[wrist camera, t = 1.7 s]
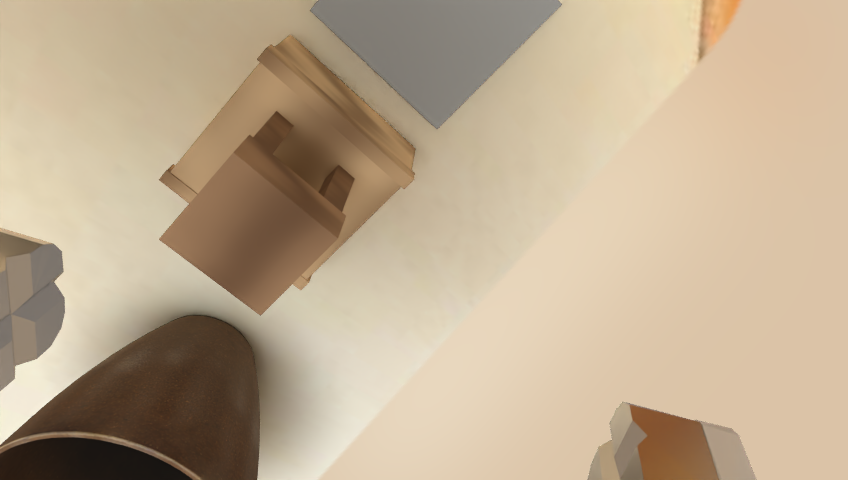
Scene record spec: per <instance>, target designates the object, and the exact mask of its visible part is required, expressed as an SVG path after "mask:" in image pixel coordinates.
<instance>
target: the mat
mask: <svg viewBox="0 0 848 480" xmlns="http://www.w3.org/2000/svg"><path fill="white" fill-rule="evenodd" d="M561 5H562V4H561V3H560V2H559V0H318V1H317V2H316V3H315V5H314V6H313V7H312V8H311V10H310V11H311V12H312V13H313V14H314V15H315V16H316V17H318V18H319V19H320V20H321V21H322V22H323V23H324V24H325V25H326V26H327V27H328V28H329V29H330V30H331V31H333V32H334V33H335V34H336V35H337V36H338V37H339V38H340V39H341V40H342V41H343V42H344V43H345V44H346V45H347V46H349V47H350V48H351V49H352V50H353V51H354V52H355V53H356V54H357V55H358V56H359V57H360V58H361V59H362V60H363V61H365V62H366V63H367V64H368V65H369V66H370V67H371V68H372V69H373V70H374V71H375V72H376V73H377V74H378V75H380V76H381V77H382V78H383V79H384V80H385V81H386V82H387V83H388V84H389V85H390V86H391V87H392V88H393V89H394V90H396V91H397V92H398V93H399V94H400V95H401V96H402V97H403V98H404V99H405V100H406V101H407V102H408V103H409V104H411V105H412V106H413V107H414V108H415V109H416V110H417V111H418V112H419V113H420V114H421V115H422V116H423V117H424V118H425V119H427V120H428V121H429V122H430V123H431V124H432V125H433V126H434V127H435V128H436V129H438V128H439V127H440V126H441V125H442V124H443V123H444V122H445V121H446V120H447V119H448V118H449V117H450V116H451V115H452V114H453V113H454V112H455V111H456V110H457V109H458V108H459V107H460V106H461V105H462V104H463V103H464V102H465V101H466V100H467V99H468V98H469V97H470V96H471V95H472V94H473V93H474V92H475V91H476V90H477V89H478V88H479V87H480V86H481V85H482V84H483V83H484V82H485V81H486V80H487V79H488V78H489V77H490V76H491V75H492V74H493V73H494V72H495V71H496V70H497V69H498V68H499V67H500V66H501V65H502V64H503V63H504V62H505V61H506V60H507V59H508V58H509V57H510V56H511V55H512V54H513V53H514V52H515V51H516V50H517V49H518V48H519V47H520V46H521V45H522V44H523V43H524V42H525V41H526V40H527V39H528V38H529V37H530V36H531V35H532V34H533V33H534V32H535V31H536V30H537V29H538V28H539V27H540V26H541V25H542V24H543V23H544V22H545V21H546V20H547V19H548V18H549V17H550V16H551V15H552V14H553V13H554V12H555V11H556V10H557V9H558V8H559V7H560V6H561Z"/></svg>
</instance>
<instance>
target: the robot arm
mask: <svg viewBox="0 0 848 480" xmlns="http://www.w3.org/2000/svg"><path fill="white" fill-rule="evenodd" d="M62 273H63V261H62V251H61V250H60V249H59V248H58V247H57V246H55V245H54V244H53V243H49V242H46V241H43V240H39V239H36V238H33V237H29V236H26V235H23V234H19V233H16V232H13V231H9V230H6V229H3V228H0V391H1V390H2V389H3V388H4V387H6V386H7V385H8V384H9V383H10V382H11V381H12V380H14V379H15V366H16V365H19V364H22V363H25V362H28V361H32V360H35V359H37V358H38V357H39V356H41V355H42V354H43V353H44V352H45V351H46V350H47V349H48V348H49V347H50V346H51V345H52V343H53V341H54V340H55V338H56V336H57V334H58V333H59V331H60V329H61V327H62V322H63V318H64V313H65V300H64V296H63V295H62V293H61V292H60V290H59V289H58V287H57V286H56V284H55V283H54V281H55V280H56V279H57V278H58V277H59V276H60V275H61V274H62ZM610 430H611V438H612V440H610V441H608V442H607V443H605V444H603V445H601V446H599V447H598V449H597V452H596V454H595V456H594V459H593V461H592V464H591V467H590V471H589V476H588V480H756V478H755V475H754V472H753V470H752V467H751V465H750V462H749V460H748V457H747V455H746V452H745V450H744V447H743V445H742V442H741V440H740V437H739V435H738V434H737V433H736V432H735V431H734V430H733V429H731V428H727V427H723V426H719V425H714V424H711V423H706V422H702V421H698V420H690V419H686V418H682V417H679V416H675V415H671V414H668V413H664V412H660V411H656V410H652V409H649V408H645V407H641V406H637V405H634V404H630V403H626V402H622V403H621V404H620V406H619V407H618V408H617V409H616V411H615V413H614V415H613V417H612V419H611V421H610Z"/></svg>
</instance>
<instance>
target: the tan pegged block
mask: <svg viewBox="0 0 848 480" xmlns="http://www.w3.org/2000/svg"><path fill="white" fill-rule="evenodd" d="M293 126H294V125H292V124H291V123H290V122H289V121H288V120H287V119H285V118H284V117H283V116H282V115H281V114H280V113H279V112H277V111H276V112H275V113H274V114H273V115H272V116H271V117H270V119H269V120H268V121H267V122H266V123H265V124H264V125H263V127H262V128H261V129H260V130H259V131H258V132H257V133H256V134H255V136H254V137H252V136H251V135H249V136H248V137H247V138H246V139H245V140H244V141H243V142H242V143H241V144H240V146H239V147H238V148H237V149H236V150H235V151H234V152H233V153H232V155H231V156H230V157H229V158H228V159H227V160H226V162H225V163H224V164H223V165H222V166H221V167H220V169H219V170H218V171H217V172H216V173H215V174H214V176H213V177H212V178H211V179H210V180H209V181H208V183H207V184H206V185H205V186H204V187H203V188H202V190H201V191H200V192H199V193H198V194H197V195H196V197H195V198H194V199H193V200H192V201H191V202H190V204H189V205H188V206H187V207H186V208H185V209H184V211H183V212H182V213H181V214H180V215H179V216H178V218H177V219H176V220H175V221H174V222H173V223H172V225H171V226H170V227H169V228H168V229H167V230H166V232H165V233H164V234H163V235H162V236H161V237H160V239H159V240H160V241H162V242H163V243H164V244H166V245H167V246H168V247H170V248H171V249H172V250H174V251H175V252H176V253H178V254H179V255H180V256H182V257H183V258H184V259H186V260H187V261H188V262H190V263H191V264H192V265H194V266H195V267H196V268H198V269H199V270H200V271H202V272H203V273H204V274H206V275H207V276H208V277H210V278H211V279H212V280H214V281H215V282H216V283H218V284H219V285H220V286H222V287H223V288H224V289H226V290H227V291H228V292H230V293H231V294H232V295H234V296H235V297H236V298H238V299H239V300H240V301H242V302H243V303H244V304H246V305H247V306H248V307H250V308H251V309H252V310H254V311H255V312H256V313H258V314H259V315H260V316H261V315H262V314H263V313H264V312H265V311H266V310H267V309H268V308H269V307H270V306H271V305H272V304H273V303H274V302H275V301H276V300H277V299H278V298H279V297H280V296H281V295H282V294H283V293H284V292H285V291H286V290H287V289H288V288H289V287H290V286H291V285H292V284H293V283H294V282H295V281H296V280H297V279H298V278H299V277H300V276H301V275H302V274H303V273H304V272H305V271H306V270H307V269H308V268H309V267H310V266H311V265H312V264H313V263H314V262H315V261H316V260H317V259H318V258H319V257H320V256H321V255H322V254H323V253H324V252H325V251H326V250H327V249H328V248H329V247H330V246H331V245H332V244H333V243H334V242H335V241H336V240H337V239H338V237H339V235H340V232H341V229H342V226H343V224H344V221H345V218H346V215H345V214H343V213H342V211H343V208H344V206H345V203H346V201H347V198H348V195H349V193H350V190H351V187H352V185H353V182H354V180H355V178H354V177H352V176H351V175H350V174H349V173H348V172H347V171H346V170H344V169H343V168H342V167H341V166H340V165H338V166H337V167H336V168H335V169H334V170H333V171H332V172H331V173H330V174H329V175H328V176H327V177H326V178H325V180H324V182H323V184H322V186H321V188H320V190H319V192H317V191H316V190H315V189H314V188H313V187H311V186H310V185H309V184H308V183H307V182H305V181H304V180H303V179H302V178H301V177H299V176H298V175H297V174H296V173H295V172H293V171H292V170H291V169H290V168H289V167H288V166H286V165H285V164H284V163H283V162H282V161H280V160H279V159H278V158H277V157H276V156H274V155H273V153H274V152H275V150H276V149H277V148H278V146H279V145H280V144H281V142H282V141H283V140H284V138H285V137H286V136H287V134H288V133H289V132H290V130H291V129H292V127H293Z"/></svg>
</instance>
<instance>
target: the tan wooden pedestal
mask: <svg viewBox="0 0 848 480" xmlns="http://www.w3.org/2000/svg"><path fill="white" fill-rule="evenodd" d="M257 60H258V61H259V62H260V63H259V64H258V66H257V67H256V68H255V69H254V70H253V72H252V73H251V74H250V75H249V77H248V78H247V79H246V80H245V81H244V83H243V84H242V85H241V86H240V87H239V89H238V90H237V91H236V92H235V94H234V95H233V96H232V97H231V98H230V100H229V101H228V102H227V103H226V105H225V106H224V107H223V108H222V109H221V111H220V112H219V113H218V114H217V116H216V117H215V118H214V119H213V120H212V122H211V123H210V124H209V125H208V127H207V128H206V129H205V130H204V131H203V133H202V134H201V135H200V136H199V138H198V139H197V140H196V141H195V142H194V144H193V145H192V146H191V147H190V149H189V150H188V151H187V152H186V153H185V155H184V156H183V157H182V158H181V160H180V161H179V162H178V163H177V164H176V166H175V165H174V164H173V165H172V166H171V167H170V168H169V169H168V170H167V171H166V172H165V173H164V174H163V175H162V177H161V178H160V179H159V180H160V181H161V182H162V183H164V184H165V185H166V186H168V187H169V188H170V189H171V190H173V191H174V192H175V193H176V194H178V195H179V196H180V197H182V198H183V199H184V200H185V201H187V202H188V203H189V204H190V202H191V201H192V200H193V199H194V198H195V197H196V195H197V194H198V193H199V192H200V191H201V190H202V188H203V187H204V186H205V185H206V184H207V183H208V181H209V180H210V179H211V178H212V177H213V176H214V174H215V173H216V172H217V171H218V170H219V169H220V167H221V166H222V165H223V164H224V163H225V162H226V160H227V159H228V158H229V157H230V156H231V155H232V153H233V152H234V151H235V150H236V149H237V148H238V147H239V146H240V144H241V143H242V142H243V141H244V140H245V139H246V138H247V137H248V136H249V135H251V136H252V137H254V136H255V134H256V133H257V132H258V131H259V130H260V129H261V128H262V127H263V125H264V124H265V123H266V122H267V121H268V120H269V119H270V117H271V116H272V115H273V114H274V113H275V112H276V111H277V112H279V113H280V114H281V115H282V116H283V117H284V118H285V119H287V120H288V121H289V122H290V123H291V124H292V125H294V126H293V127H292V129H291V130H290V132H289V133H288V134H287V136H286V137H285V138H284V140H283V141H282V142H281V144H280V145H279V146H278V148H277V149H276V150H275V152H274V153H273V155H274V156H276V157H277V158H278V159H279V160H280V161H282V162H283V163H284V164H285V165H286V166H288V167H289V168H290V169H291V170H292V171H293V172H295V173H296V174H297V175H298V176H299V177H301V178H302V179H303V180H304V181H305V182H307V183H308V184H309V185H310V186H311V187H313V188H314V189H315V190H316V191H317V192H319V190H320V188H321V186H322V184H323V182H324V180H325V178H326V177H327V176H328V175H329V174H330V173H331V172H332V171H333V170H334V169H335V168H336V167H337V166H338V165H340V166H341V167H342V168H343V169H344V170H346V171H347V172H348V173H349V174H350V175H351V176H352V177H354V178H355V180H354V182H353V185H352V187H351V190H350V193H349V195H348V198H347V201H346V203H345V206H344V208H343V211H342V213H343V214H345V215H346V218H345V221H344V224H343V226H342V229H341V232H340V235H339V237H338V239H337V240H336V241H335V242H334V243H333V244H332V245H331V246H330V247H329V248H328V249H327V250H326V251H325V252H324V253H323V254H322V255H321V256H320V257H319V258H318V259H317V260H316V261H315V262H314V263H313V264H312V265H311V266H310V267H309V268H308V269H307V270H306V271H305V272H304V273H303V274H302V275H301V276H300V277H299V278H298V279H297V280H296V281H295V282H294V283H293V285H294V286H296V287H297V288H298V289H300V290H302V289H303V288H304V287H305V286H306V285H307V284H308V283H309V281H310V278H311V276H312V274H313V273H314V272H315V271H316V270H317V269H318V268H319V267H320V266H321V265H322V264H323V263H324V262H325V261H326V260H327V259H328V258H329V257H330V256H331V255H332V254H333V253H334V252H335V251H336V250H337V249H338V248H339V247H340V246H341V245H342V244H343V243H344V242H345V241H346V240H347V239H349V238H350V237H351V236H352V235H353V234H354V233H355V232H356V231H357V230H358V229H359V228H360V227H361V226H362V225H363V224H364V223H365V222H366V221H367V220H368V219H369V218H370V217H371V216H372V215H373V214H374V213H375V212H376V211H377V210H378V209H379V208H380V207H381V206H382V205H383V204H384V203H385V202H386V201H387V200H388V199H389V198H390V197H391V196H392V195H393V194H394V193H395V192H396V191H397V190H398V189H399V188H400V187H402V188H403V189H405V188H406V187H407V186H408V185H409V184H410V183H411V182H412V181H413V180H414V175H415V173H414V172H413V171H412V164H413V159H414V153H415V148H414V147H413V146H412V145H411V144H410V143H409V142H408V141H406V140H405V139H404V138H403V137H402V136H401V135H400V134H399V133H398V132H397V131H396V130H394V129H393V128H392V127H391V126H390V125H389V124H388V123H387V122H386V121H385V120H383V119H382V118H381V117H380V116H379V115H378V114H377V113H376V112H375V111H374V110H373V109H371V108H370V107H369V106H368V105H367V104H366V103H365V102H364V101H363V100H362V99H360V98H359V97H358V96H357V95H356V94H355V93H354V92H353V91H352V90H351V89H350V88H348V87H347V86H346V85H345V84H344V83H343V82H342V81H341V80H340V79H339V78H337V77H336V76H335V75H334V74H333V73H332V72H331V71H330V70H329V69H328V68H327V67H325V66H324V65H323V64H322V63H321V62H320V61H319V60H318V59H317V58H316V57H314V56H313V55H312V54H311V53H310V52H309V51H308V50H307V49H306V48H305V47H304V46H302V45H301V44H300V43H299V42H298V41H297V40H296V39H295V38H294V37H293V36H291V35H290V36H288V37H287V38H286V39H284V40H283V41H282V42H281V43H279V44H278V45H277V46H276V47H274V46H272V45H270V46H268V47H267V48H266V49H265V50H264V52H263V53H262V54H261V55H260V56H259V58H258V59H257Z"/></svg>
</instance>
